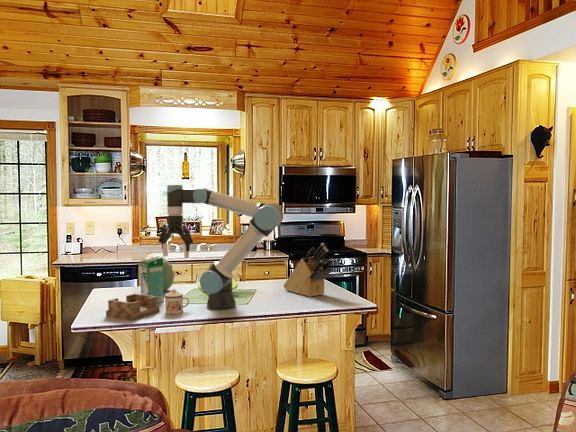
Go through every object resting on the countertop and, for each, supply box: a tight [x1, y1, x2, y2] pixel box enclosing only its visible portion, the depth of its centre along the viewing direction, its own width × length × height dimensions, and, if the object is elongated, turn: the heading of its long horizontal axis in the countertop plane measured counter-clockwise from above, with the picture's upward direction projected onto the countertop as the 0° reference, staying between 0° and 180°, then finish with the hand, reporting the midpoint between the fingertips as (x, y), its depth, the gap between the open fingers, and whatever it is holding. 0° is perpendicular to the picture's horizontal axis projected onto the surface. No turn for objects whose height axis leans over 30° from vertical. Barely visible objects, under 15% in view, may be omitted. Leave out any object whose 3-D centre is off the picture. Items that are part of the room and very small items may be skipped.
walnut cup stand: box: [105, 293, 160, 321], centre depth 250 cm, size 17×19×8 cm
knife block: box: [283, 242, 334, 298], centre depth 295 cm, size 11×35×31 cm, turn 36°
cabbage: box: [163, 258, 176, 292], centre depth 307 cm, size 16×19×20 cm
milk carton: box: [139, 255, 165, 304], centre depth 278 cm, size 9×9×25 cm
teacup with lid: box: [164, 288, 190, 315], centre depth 254 cm, size 12×9×12 cm
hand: (175, 257), depth 253 cm, fingers open, 13 cm apart
